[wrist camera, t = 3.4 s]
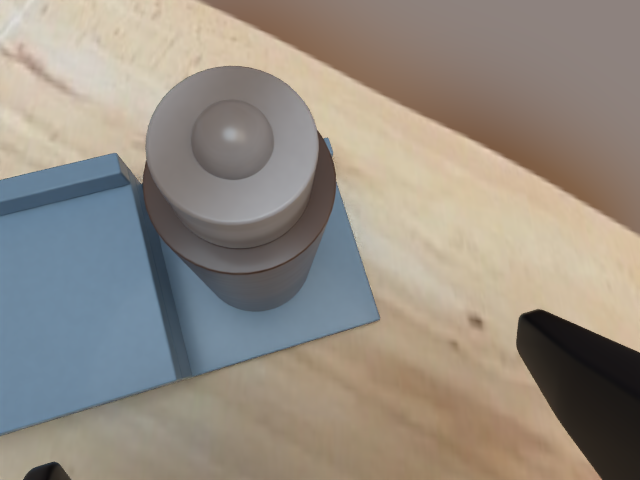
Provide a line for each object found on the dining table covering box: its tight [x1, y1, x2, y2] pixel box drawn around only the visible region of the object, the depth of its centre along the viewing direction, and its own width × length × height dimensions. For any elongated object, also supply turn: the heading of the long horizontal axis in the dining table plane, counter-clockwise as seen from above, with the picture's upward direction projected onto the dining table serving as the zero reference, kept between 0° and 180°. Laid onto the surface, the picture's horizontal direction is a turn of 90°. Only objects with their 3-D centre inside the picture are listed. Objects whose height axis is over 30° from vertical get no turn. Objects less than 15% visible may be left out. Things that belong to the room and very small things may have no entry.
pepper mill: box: [143, 66, 336, 312], centre depth 15 cm, size 5×5×13 cm
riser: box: [0, 138, 380, 436], centre depth 19 cm, size 8×17×5 cm, turn 107°
